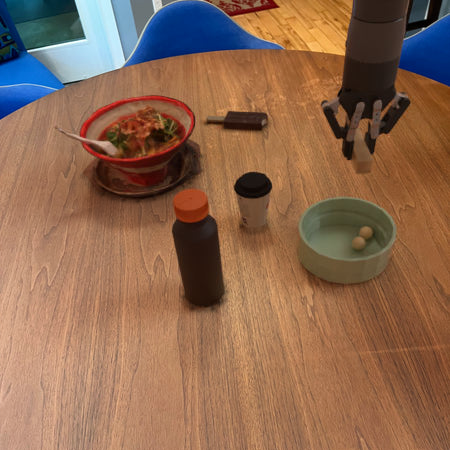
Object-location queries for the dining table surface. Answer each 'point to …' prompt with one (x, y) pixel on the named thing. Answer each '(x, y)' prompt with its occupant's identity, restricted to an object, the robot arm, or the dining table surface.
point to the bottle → (197, 248)
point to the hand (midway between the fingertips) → (357, 156)
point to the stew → (140, 145)
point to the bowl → (345, 239)
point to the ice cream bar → (242, 120)
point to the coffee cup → (253, 198)
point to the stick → (361, 155)
